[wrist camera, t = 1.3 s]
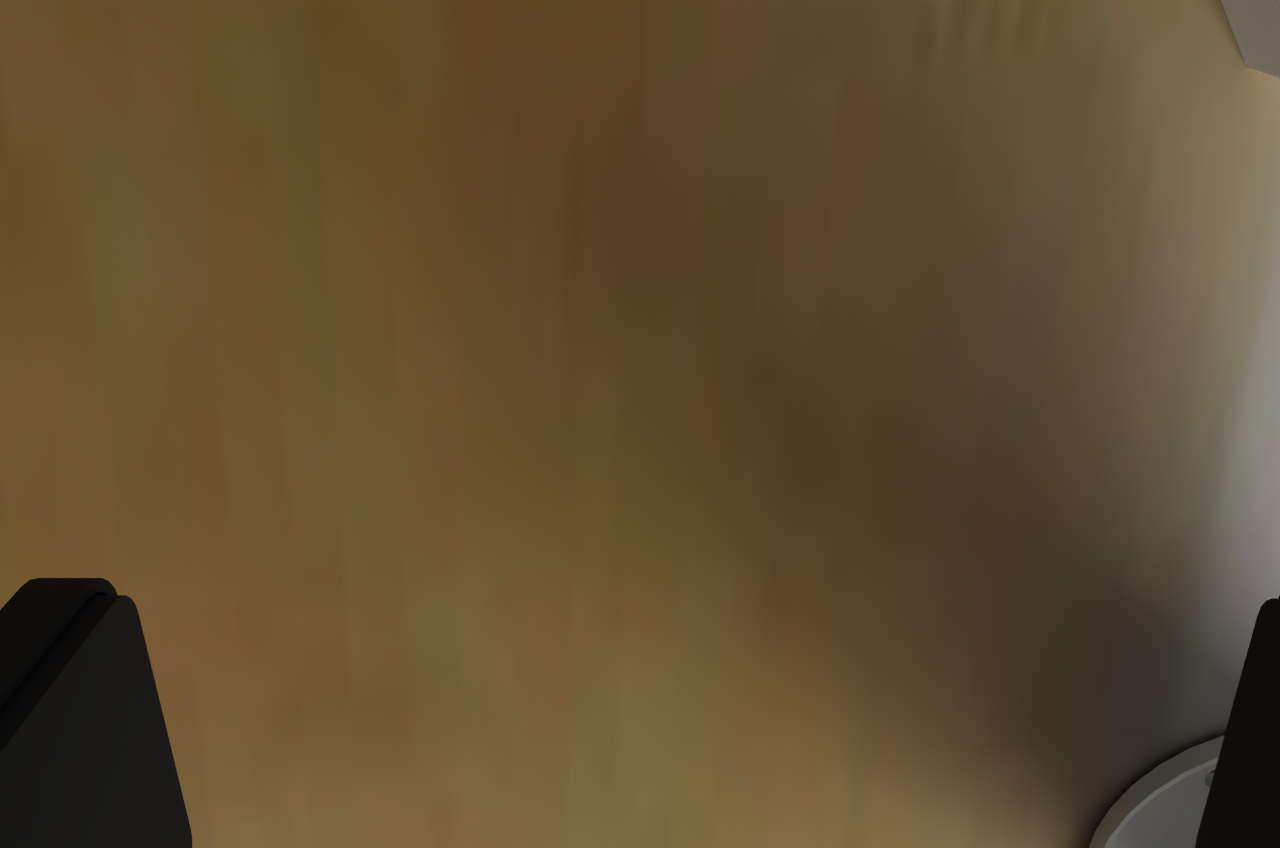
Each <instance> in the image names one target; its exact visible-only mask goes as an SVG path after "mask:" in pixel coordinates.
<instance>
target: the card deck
mask: <svg viewBox="0 0 1280 848" xmlns="http://www.w3.org/2000/svg"><path fill="white" fill-rule="evenodd" d="M1221 2H1222V5H1223V8H1224V10H1225V13H1226V15H1227V18H1228V21H1229V23H1230V26H1231V28H1232V31H1233V34H1234V36H1235V39H1236V41H1237V44H1238V47H1239V49H1240V52H1241V54H1242V57H1243V59H1244V62H1245V65H1246V67H1248V68H1252V69H1255V70H1258V71H1261V72H1264V73H1267V74H1270V75H1273V76H1276V77H1279V78H1280V0H1221Z"/></svg>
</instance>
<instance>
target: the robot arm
mask: <svg viewBox="0 0 1280 848" xmlns="http://www.w3.org/2000/svg"><path fill="white" fill-rule="evenodd" d="M0 848H192V834H191V828H190V824H189V820H188V816H187V812H186V808H185V804H184V800H183V795H182V791H181V787H180V783H179V779H178V775H177V771H176V767H175V762H174V758H173V754H172V750H171V746H170V742H169V738H168V734H167V729H166V725H165V721H164V717H163V713H162V709H161V705H160V701H159V697H158V692H157V688H156V684H155V680H154V676H153V672H152V668H151V664H150V659H149V655H148V651H147V647H146V643H145V639H144V635H143V631H142V626H141V622H140V618H139V614H138V611H137V608H136V605H135V603H134V602H133V600H132V599H131V598H130V597H127V596H118V595H117V593H116V590H115V588H114V587H113V586H112V584H111V583H110V582H109V581H107V580H105V579H103V578H37V579H32V580H29V581H28V582H27V583H25V584H24V585H23V586H22V587H21V588H20V589H19V590H18V591H17V592H16V593H15V594H14V595H13V597H12V598H11V599H10V600H9V601H8V602H7V603H6V604H5V605H4V607H3V608H2V609H1V610H0ZM1089 848H1280V596H1279V598H1278V599H1270V600H1267V601H1266V602H1265V603H1264V604H1263V605H1262V606H1261V608H1260V611H1259V613H1258V616H1257V619H1256V623H1255V627H1254V630H1253V634H1252V638H1251V641H1250V645H1249V648H1248V652H1247V656H1246V659H1245V663H1244V667H1243V670H1242V674H1241V677H1240V681H1239V685H1238V688H1237V692H1236V696H1235V699H1234V703H1233V707H1232V710H1231V714H1230V717H1229V721H1228V725H1227V728H1226V732H1225V735H1223V736H1221V737H1218V738H1215V739H1213V740H1210V741H1207V742H1205V743H1202V744H1199V745H1197V746H1194V747H1191V748H1189V749H1187V750H1185V751H1184V752H1182V753H1180V754H1178V755H1176V756H1174V757H1173V758H1171V759H1169V760H1167V761H1165V762H1163V763H1162V764H1160V765H1158V766H1157V767H1156V768H1154V769H1153V770H1152V771H1150V772H1149V773H1148V774H1146V775H1145V776H1144V777H1142V778H1141V779H1140V780H1138V781H1137V782H1136V783H1134V784H1133V785H1132V786H1131V787H1130V788H1129V789H1128V790H1127V791H1126V792H1125V793H1124V794H1123V795H1122V796H1121V797H1120V798H1119V799H1118V801H1117V802H1116V803H1115V804H1114V805H1113V806H1112V807H1111V808H1110V809H1109V811H1108V812H1107V814H1106V815H1105V817H1104V819H1103V820H1102V822H1101V823H1100V825H1099V826H1098V828H1097V829H1096V831H1095V833H1094V835H1093V838H1092V841H1091V843H1090V846H1089Z"/></svg>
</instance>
